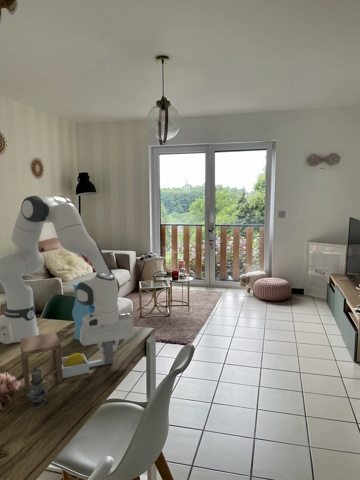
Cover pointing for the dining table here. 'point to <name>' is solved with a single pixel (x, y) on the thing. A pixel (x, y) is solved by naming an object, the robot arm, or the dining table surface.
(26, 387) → the tunnel
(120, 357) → the dining table surface
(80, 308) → the blue angular vessel
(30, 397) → the gray stone ornament
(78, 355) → the lemon
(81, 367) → the slider
